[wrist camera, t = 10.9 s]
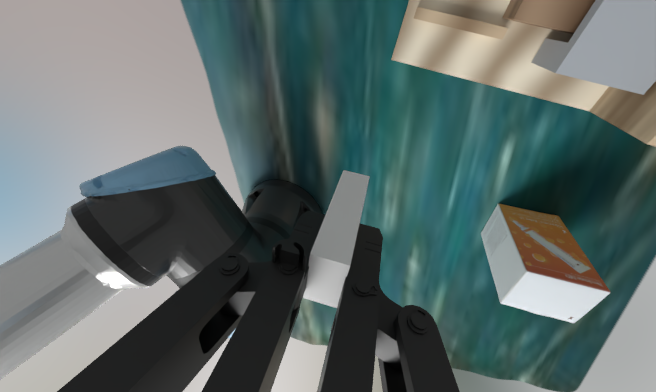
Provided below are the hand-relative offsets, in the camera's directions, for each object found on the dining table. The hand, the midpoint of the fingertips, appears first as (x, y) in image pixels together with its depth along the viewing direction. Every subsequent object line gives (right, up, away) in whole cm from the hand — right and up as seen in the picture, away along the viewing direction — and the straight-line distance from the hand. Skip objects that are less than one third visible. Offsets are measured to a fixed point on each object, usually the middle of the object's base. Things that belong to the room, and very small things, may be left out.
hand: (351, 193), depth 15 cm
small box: (+27, -4, +24) cm, 36 cm away
